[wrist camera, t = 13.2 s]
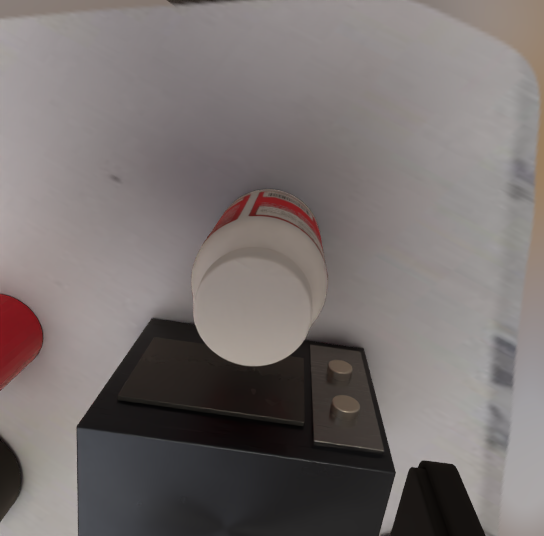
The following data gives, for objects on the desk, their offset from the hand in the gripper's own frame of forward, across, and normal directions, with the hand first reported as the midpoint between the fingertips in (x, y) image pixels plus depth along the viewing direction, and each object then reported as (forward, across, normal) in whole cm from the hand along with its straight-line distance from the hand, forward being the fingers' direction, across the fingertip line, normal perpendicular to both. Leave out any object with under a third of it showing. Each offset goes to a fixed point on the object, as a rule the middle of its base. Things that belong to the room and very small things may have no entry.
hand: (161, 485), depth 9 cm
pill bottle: (+21, -1, +1) cm, 21 cm away
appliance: (+20, -1, +12) cm, 24 cm away
